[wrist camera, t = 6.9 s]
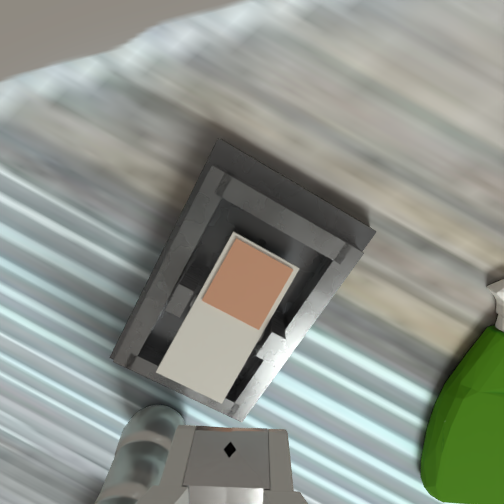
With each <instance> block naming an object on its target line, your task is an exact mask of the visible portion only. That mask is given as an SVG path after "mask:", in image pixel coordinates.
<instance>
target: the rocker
mask: <svg viewBox="0 0 504 504" xmlns="http://www.w3.org/2000/svg"><path fill="white" fill-rule="evenodd" d="M299 269H300V268H298V267H297V266H296V265H294V264H292V263H290V262H288V261H286V260H285V259H283V258H281V257H279V256H277V255H276V254H274V253H272V252H270V251H268V250H267V249H265V248H263V247H261V246H259V245H258V244H256V243H254V242H252V241H250V240H249V239H247V238H245V237H243V236H241V235H240V234H238V233H236V232H234V231H233V232H232V234H231V236H230V238H229V240H228V241H227V243H226V245H225V247H224V249H223V250H222V252H221V254H220V256H219V258H218V259H217V261H216V263H215V265H214V267H213V269H212V270H211V272H210V274H209V276H208V278H207V279H206V281H205V283H204V285H203V287H202V288H201V290H200V292H199V294H198V295H197V294H195V296H194V298H193V299H192V301H191V303H190V305H189V306H190V307H191V308H190V310H189V312H188V314H187V316H186V317H185V319H184V321H183V323H182V325H181V326H180V328H179V330H178V332H177V334H176V335H175V337H174V339H173V341H172V343H171V345H170V346H169V348H168V350H167V352H166V354H165V355H164V357H163V359H162V361H161V363H160V364H159V367H158V369H157V371H156V373H158V374H160V375H163V376H165V377H167V378H169V379H171V380H173V381H175V382H177V383H179V384H181V385H184V386H186V387H188V388H190V389H192V390H194V391H196V392H198V393H200V394H202V395H205V396H207V397H209V398H211V399H213V400H215V401H217V402H219V403H221V404H222V403H223V401H224V399H225V397H226V396H227V394H228V392H229V390H230V389H231V387H232V385H233V383H234V382H235V380H236V378H237V377H238V375H239V373H240V371H241V370H242V368H243V366H244V364H245V363H246V361H247V359H248V357H249V356H250V354H251V352H252V350H253V349H254V347H255V345H256V344H257V342H258V341H261V339H262V338H263V335H264V333H265V328H266V326H267V324H268V323H269V321H270V319H271V318H272V316H273V314H274V312H275V311H276V309H277V307H278V305H279V304H280V302H281V300H282V298H283V297H284V295H285V293H286V291H287V290H288V288H289V286H290V285H291V283H292V281H293V279H294V278H295V276H296V274H297V272H298V271H299Z"/></svg>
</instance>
